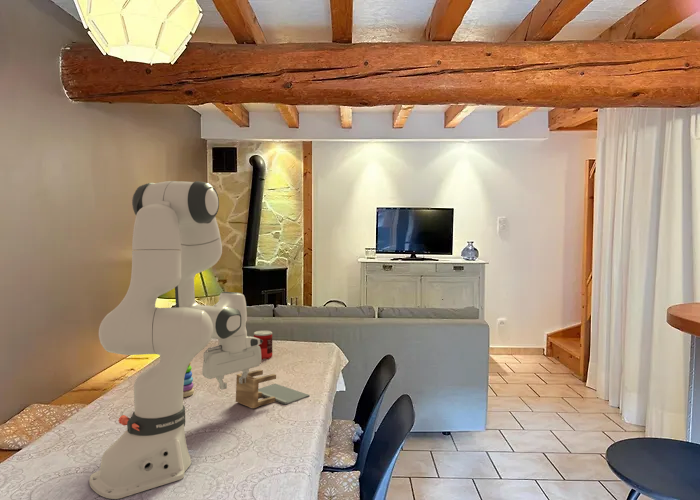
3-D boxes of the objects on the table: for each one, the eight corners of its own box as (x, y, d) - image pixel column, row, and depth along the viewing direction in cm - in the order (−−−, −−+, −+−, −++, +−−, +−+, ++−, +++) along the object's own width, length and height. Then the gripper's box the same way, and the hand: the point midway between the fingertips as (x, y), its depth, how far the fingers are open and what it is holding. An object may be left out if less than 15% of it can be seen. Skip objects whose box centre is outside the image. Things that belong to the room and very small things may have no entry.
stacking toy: (186, 399, 168) (185, 344, 167) (165, 397, 169) (164, 342, 168) (198, 391, 175) (197, 338, 174) (177, 389, 177) (176, 337, 176)
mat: (285, 405, 163) (285, 402, 162) (250, 392, 174) (250, 389, 174) (309, 396, 171) (309, 393, 171) (275, 384, 183) (275, 381, 183)
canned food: (252, 356, 221) (251, 331, 220) (269, 354, 224) (269, 329, 223) (256, 360, 214) (256, 335, 213) (274, 358, 217) (274, 333, 216)
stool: (252, 408, 158) (253, 380, 158) (235, 401, 164) (236, 374, 164) (276, 401, 166) (276, 374, 165) (258, 395, 171) (259, 369, 171)
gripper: (209, 350, 147) (210, 396, 148) (264, 338, 163) (264, 380, 164) (197, 347, 151) (198, 392, 152) (252, 335, 167) (252, 376, 168)
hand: (233, 386), depth 158 cm, fingers open, 6 cm apart
